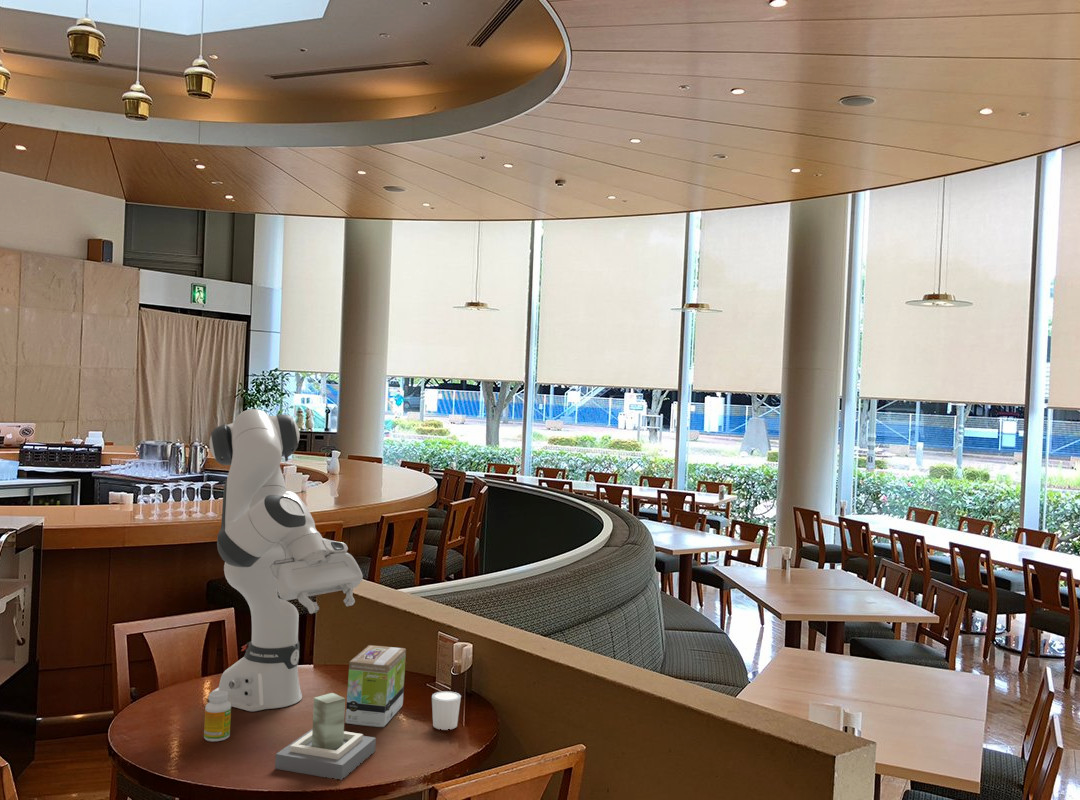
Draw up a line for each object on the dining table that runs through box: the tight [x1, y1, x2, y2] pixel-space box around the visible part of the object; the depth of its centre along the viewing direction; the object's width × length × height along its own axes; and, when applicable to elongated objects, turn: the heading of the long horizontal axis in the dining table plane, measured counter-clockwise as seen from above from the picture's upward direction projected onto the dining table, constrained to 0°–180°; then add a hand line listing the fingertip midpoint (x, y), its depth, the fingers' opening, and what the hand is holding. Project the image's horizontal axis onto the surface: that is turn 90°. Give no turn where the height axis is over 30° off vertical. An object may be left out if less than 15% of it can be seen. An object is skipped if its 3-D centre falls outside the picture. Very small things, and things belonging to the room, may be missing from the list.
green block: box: [312, 692, 346, 750], centre depth 182 cm, size 5×5×10 cm
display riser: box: [274, 728, 377, 781], centre depth 182 cm, size 15×15×4 cm
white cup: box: [431, 690, 462, 731], centre depth 204 cm, size 7×7×7 cm
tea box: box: [344, 644, 407, 728], centre depth 208 cm, size 15×10×15 cm
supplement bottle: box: [203, 690, 232, 742], centre depth 191 cm, size 5×5×10 cm
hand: (333, 608), depth 188 cm, fingers open, 8 cm apart
